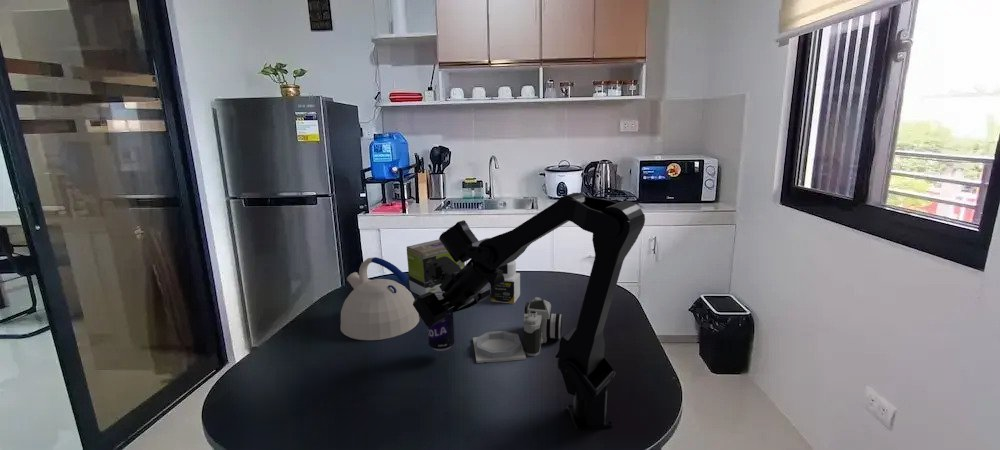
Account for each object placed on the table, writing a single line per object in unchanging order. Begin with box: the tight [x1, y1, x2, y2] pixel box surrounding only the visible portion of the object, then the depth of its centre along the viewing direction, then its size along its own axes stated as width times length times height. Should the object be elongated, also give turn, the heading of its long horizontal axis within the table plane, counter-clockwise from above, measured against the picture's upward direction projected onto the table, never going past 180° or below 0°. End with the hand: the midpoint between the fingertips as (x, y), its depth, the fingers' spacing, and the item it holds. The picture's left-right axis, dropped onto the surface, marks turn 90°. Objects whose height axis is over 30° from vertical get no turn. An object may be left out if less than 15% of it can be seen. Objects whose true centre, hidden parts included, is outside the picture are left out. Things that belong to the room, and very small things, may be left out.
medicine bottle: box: [490, 260, 521, 305], centre depth 135 cm, size 7×7×12 cm
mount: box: [472, 330, 527, 364], centre depth 106 cm, size 11×11×2 cm
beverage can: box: [427, 292, 455, 352], centre depth 101 cm, size 6×6×12 cm
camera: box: [523, 296, 563, 357], centre depth 109 cm, size 16×9×10 cm, turn 169°
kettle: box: [340, 256, 420, 341], centre depth 119 cm, size 20×21×18 cm
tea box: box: [406, 238, 466, 296], centre depth 143 cm, size 15×10×15 cm
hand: (435, 317), depth 102 cm, fingers closed on beverage can, 6 cm apart
